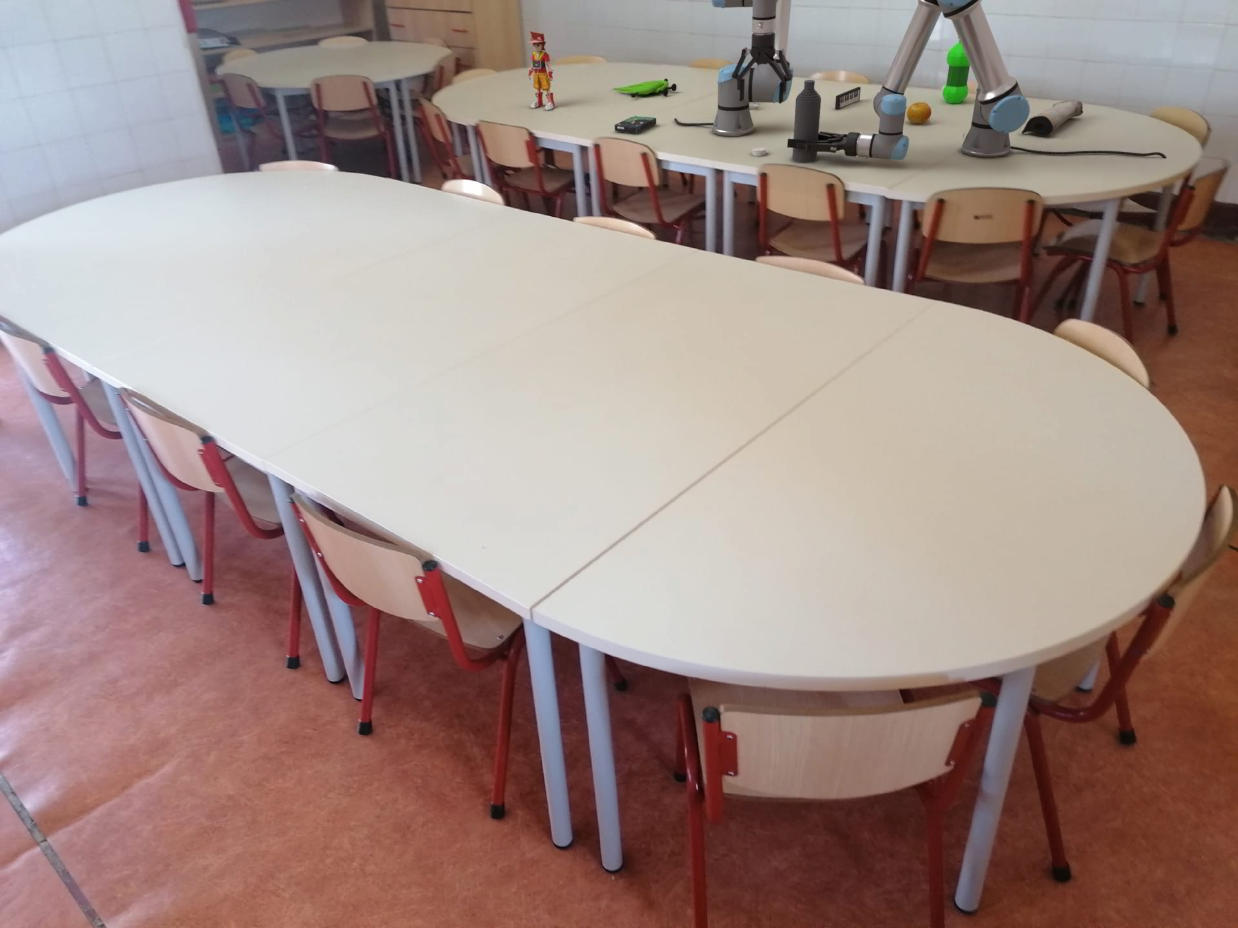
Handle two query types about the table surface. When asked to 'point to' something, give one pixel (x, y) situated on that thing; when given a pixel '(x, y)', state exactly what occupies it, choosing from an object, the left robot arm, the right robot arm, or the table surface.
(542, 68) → the toy
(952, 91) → the plastic bottle
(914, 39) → the right robot arm
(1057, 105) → the rolled mat
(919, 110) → the fruit
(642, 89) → the toy
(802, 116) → the bottle
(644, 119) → the disk drive
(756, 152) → the cap
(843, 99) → the midi keyboard
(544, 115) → the table surface
